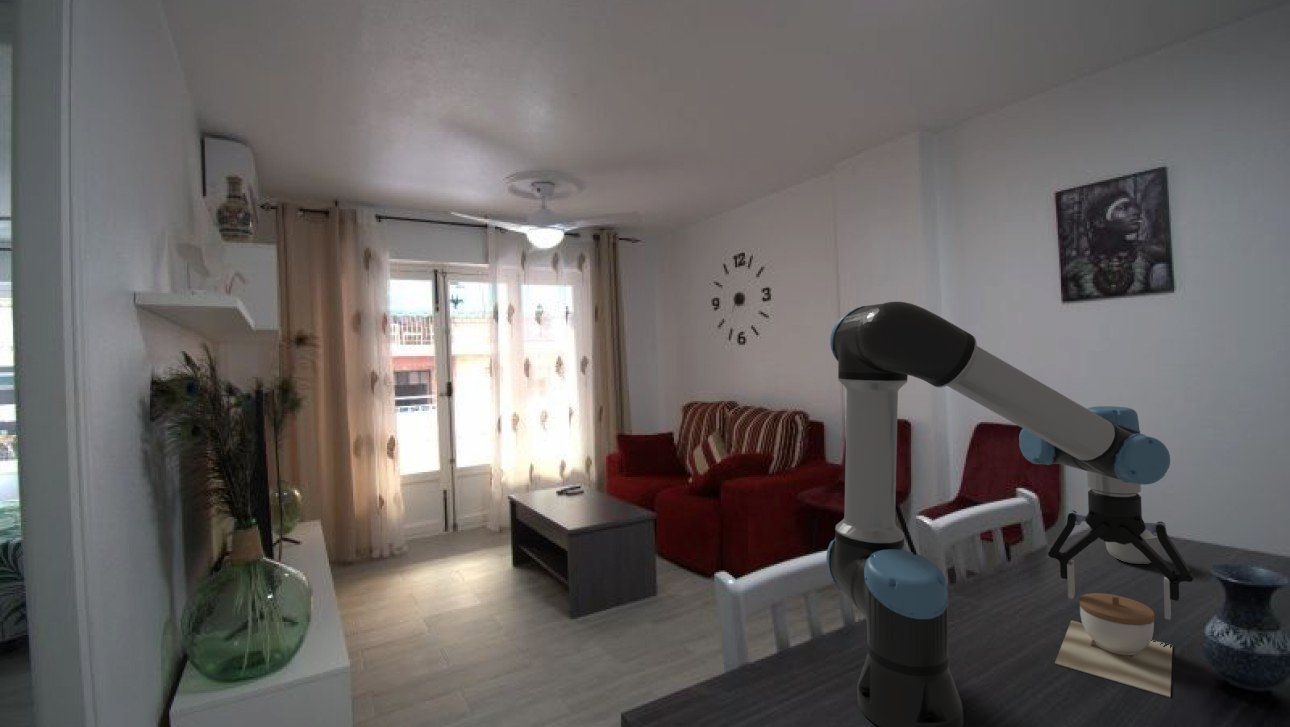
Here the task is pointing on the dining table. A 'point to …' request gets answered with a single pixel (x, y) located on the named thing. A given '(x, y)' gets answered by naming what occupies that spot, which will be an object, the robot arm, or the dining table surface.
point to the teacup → (1134, 549)
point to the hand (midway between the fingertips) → (1117, 606)
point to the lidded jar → (1117, 622)
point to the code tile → (1118, 662)
